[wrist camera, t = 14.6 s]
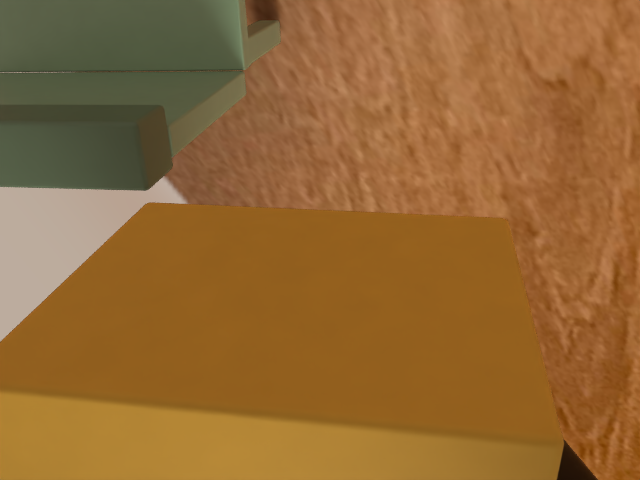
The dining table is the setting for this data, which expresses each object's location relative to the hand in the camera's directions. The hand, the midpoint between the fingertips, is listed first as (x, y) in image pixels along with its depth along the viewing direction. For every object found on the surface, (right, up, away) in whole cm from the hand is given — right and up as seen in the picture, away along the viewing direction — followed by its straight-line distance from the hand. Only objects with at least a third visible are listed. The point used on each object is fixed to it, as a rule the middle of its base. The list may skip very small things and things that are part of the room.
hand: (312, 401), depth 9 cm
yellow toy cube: (0, +1, +1) cm, 1 cm away
